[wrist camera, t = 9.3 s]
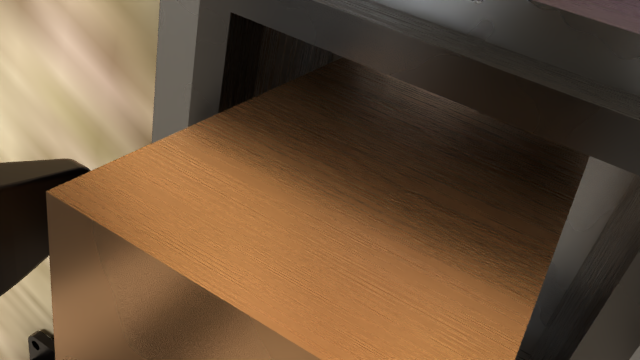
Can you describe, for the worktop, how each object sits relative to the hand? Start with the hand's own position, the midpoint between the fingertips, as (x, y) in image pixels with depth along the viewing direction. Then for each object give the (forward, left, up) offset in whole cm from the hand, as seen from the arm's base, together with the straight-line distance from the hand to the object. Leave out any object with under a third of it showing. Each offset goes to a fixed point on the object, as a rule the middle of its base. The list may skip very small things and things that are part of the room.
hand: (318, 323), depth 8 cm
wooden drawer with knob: (0, 0, -6) cm, 6 cm away
